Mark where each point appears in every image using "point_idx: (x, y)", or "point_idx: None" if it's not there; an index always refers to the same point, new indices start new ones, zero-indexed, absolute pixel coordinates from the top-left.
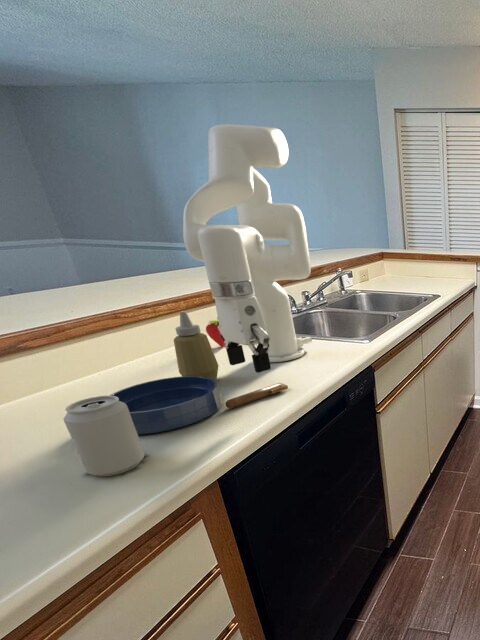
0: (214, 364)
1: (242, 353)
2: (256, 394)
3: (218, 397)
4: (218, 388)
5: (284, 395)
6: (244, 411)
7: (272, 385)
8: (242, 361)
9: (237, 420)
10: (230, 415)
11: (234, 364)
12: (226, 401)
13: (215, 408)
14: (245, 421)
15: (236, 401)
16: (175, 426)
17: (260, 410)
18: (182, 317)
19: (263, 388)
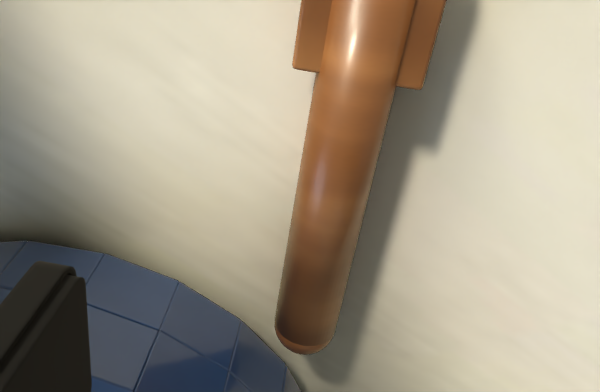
0: None
1: (16, 380)
2: (364, 198)
3: (244, 382)
4: (179, 380)
5: (502, 16)
6: (423, 308)
7: (372, 39)
8: (80, 309)
9: (481, 384)
10: (389, 358)
11: (90, 377)
12: (294, 352)
13: (289, 387)
14: (536, 382)
15: (335, 318)
16: None
17: (516, 273)
18: None
19: (350, 125)
